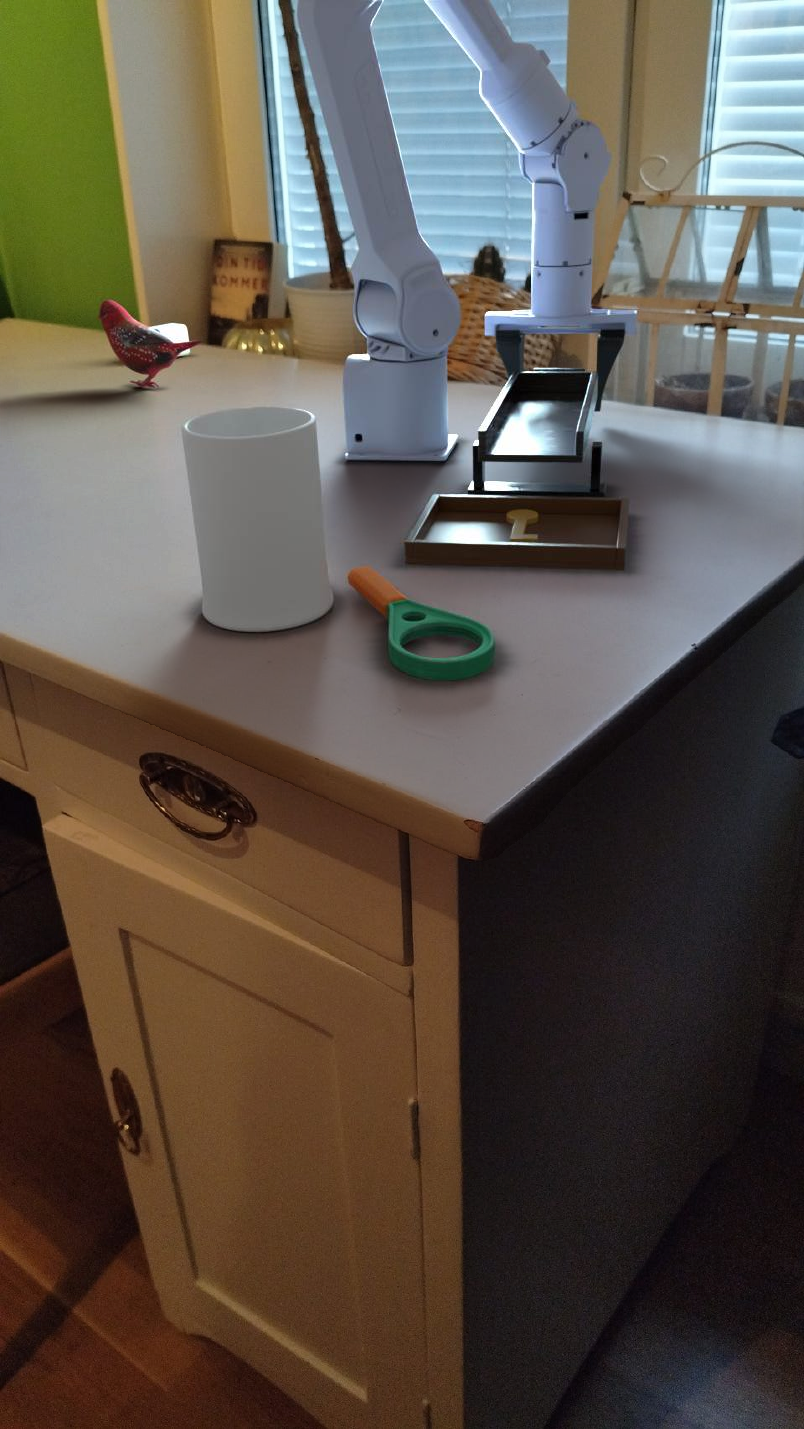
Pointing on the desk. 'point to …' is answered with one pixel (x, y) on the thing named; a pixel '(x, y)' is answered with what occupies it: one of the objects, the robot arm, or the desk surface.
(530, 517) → the key
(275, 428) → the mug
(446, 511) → the tray
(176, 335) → the usb wall charger
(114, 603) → the desk surface
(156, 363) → the decorative bird figurine
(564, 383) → the dark sloped chute
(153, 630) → the desk surface
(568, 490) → the stand
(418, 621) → the magnifying glass
